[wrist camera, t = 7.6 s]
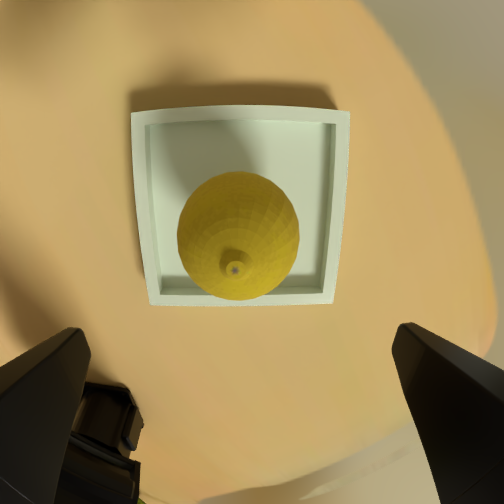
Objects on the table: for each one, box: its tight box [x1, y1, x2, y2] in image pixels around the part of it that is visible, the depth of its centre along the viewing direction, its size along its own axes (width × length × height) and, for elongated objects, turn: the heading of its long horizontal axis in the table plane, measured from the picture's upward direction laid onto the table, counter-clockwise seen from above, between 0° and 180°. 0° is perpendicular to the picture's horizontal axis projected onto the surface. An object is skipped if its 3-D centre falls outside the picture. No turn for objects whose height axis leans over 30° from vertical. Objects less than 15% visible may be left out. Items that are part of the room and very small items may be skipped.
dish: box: [131, 105, 350, 306], centre depth 17 cm, size 12×12×2 cm
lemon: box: [177, 171, 300, 301], centre depth 14 cm, size 6×6×8 cm
